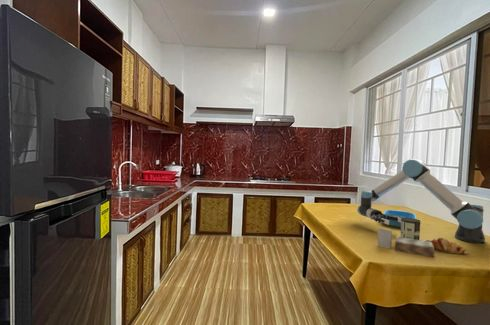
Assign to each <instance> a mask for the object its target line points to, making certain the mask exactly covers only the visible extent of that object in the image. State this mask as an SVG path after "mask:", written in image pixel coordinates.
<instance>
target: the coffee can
mask: <svg viewBox="0 0 490 325" xmlns="http://www.w3.org/2000/svg"><path fill="white" fill-rule="evenodd" d="M420 233H421V220H419V219H417V218H416V219H413V218H401V227H400V237H404V238H410V239H416V240H420V236H421V234H420Z"/></svg>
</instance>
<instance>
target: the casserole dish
mask: <svg viewBox="0 0 490 325" xmlns="http://www.w3.org/2000/svg"><path fill="white" fill-rule="evenodd" d="M382 214H385V215H386V214H388V215H393V216H398V217H399V216H400V217H401V218H413V219H417V216H416V214H415V213H413V212H410V211H405V210H397V209H386V210H384V211H383V213H382ZM386 219H387V218H386ZM388 220H389V219H388ZM388 226H390V227H391V226H392V227H396V228H397V227H398V228H401V222H398V221H395V220H389V225H388Z"/></svg>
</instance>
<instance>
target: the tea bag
mask: <svg viewBox="0 0 490 325" xmlns="http://www.w3.org/2000/svg"><path fill="white" fill-rule="evenodd" d="M392 233H393V231H392V230H389V229H384V228H378V232H377V241H376V242H377V243H376V244H377V245H378V246H377V247H380V246H383V247H382V248H385V247H387V248H386V249H389V248H390V249H391V248H392V244H393V242H392V241H393V240H392V239H393V237H392V236H393V235H392Z"/></svg>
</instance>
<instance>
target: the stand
mask: <svg viewBox="0 0 490 325" xmlns="http://www.w3.org/2000/svg"><path fill="white" fill-rule="evenodd" d="M394 240H395V243H394V244H395V245H394V250H395V251H397V252H403V253H408V254H414V255H419V256H425V257H430V258H434V257H435V249H434V247H433V244H432V242H429V241H427V240H421V239H419V240H416V239H410V238H404V237H401V236H396V237H395V239H394Z"/></svg>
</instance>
